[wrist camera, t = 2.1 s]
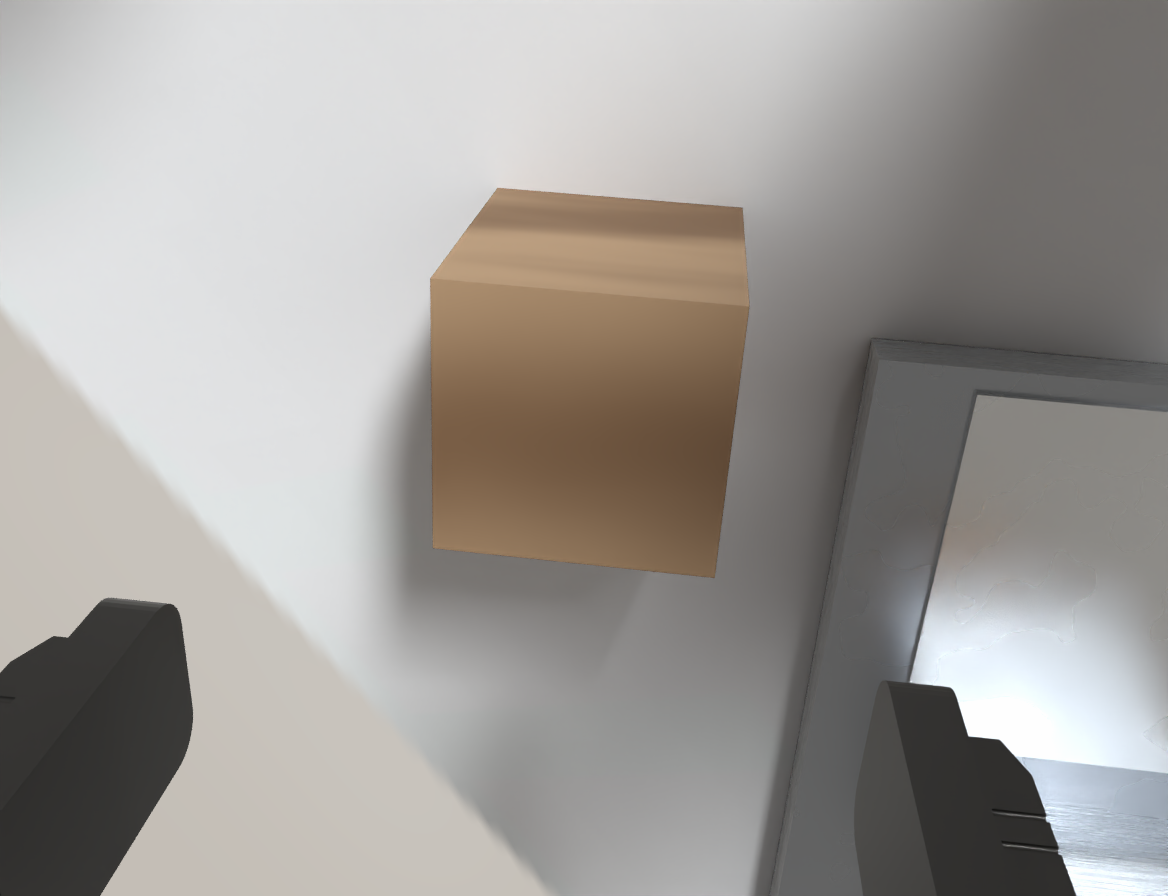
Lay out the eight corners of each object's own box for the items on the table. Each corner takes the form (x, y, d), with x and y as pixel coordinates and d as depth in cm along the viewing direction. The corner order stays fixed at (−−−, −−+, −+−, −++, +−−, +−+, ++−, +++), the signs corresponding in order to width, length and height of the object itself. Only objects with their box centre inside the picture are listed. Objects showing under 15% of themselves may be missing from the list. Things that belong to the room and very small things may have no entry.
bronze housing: (497, 187, 23) (430, 278, 17) (742, 207, 22) (748, 306, 17) (493, 408, 25) (432, 548, 20) (715, 429, 25) (714, 577, 19)
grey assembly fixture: (871, 338, 23) (954, 580, 15) (1525, 396, 22) (1990, 688, 14) (762, 932, 31) (777, 1299, 23) (1238, 993, 31) (1428, 1397, 22)
